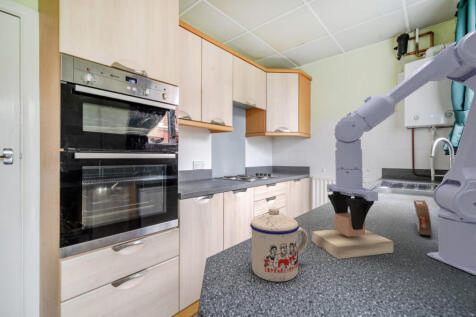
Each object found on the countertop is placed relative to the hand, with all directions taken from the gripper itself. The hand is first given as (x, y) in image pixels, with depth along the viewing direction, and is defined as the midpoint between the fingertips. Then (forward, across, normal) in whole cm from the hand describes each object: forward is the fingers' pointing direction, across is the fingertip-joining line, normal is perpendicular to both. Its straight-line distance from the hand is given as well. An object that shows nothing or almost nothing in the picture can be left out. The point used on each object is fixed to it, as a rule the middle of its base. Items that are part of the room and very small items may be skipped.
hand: (349, 225), depth 51 cm
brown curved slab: (+5, -5, +28) cm, 29 cm away
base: (+5, 0, 0) cm, 5 cm away
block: (+2, 0, 0) cm, 2 cm away
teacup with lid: (+5, +6, -20) cm, 21 cm away
